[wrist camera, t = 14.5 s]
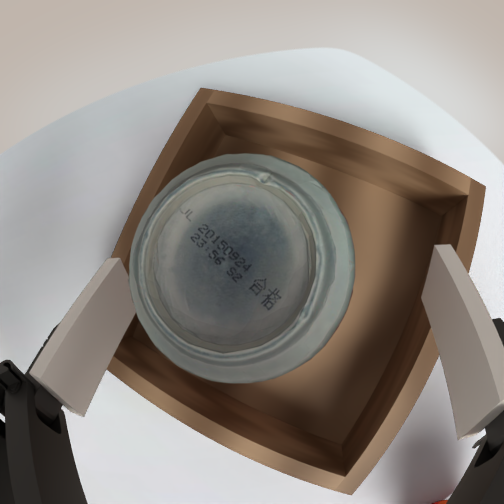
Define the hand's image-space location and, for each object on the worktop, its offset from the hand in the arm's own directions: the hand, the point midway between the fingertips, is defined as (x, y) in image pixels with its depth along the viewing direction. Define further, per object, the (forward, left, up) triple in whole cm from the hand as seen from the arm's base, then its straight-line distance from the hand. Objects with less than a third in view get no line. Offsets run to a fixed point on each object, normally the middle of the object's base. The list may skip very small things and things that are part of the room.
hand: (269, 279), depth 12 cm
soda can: (-1, 0, -8) cm, 8 cm away
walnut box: (0, 0, -9) cm, 9 cm away
